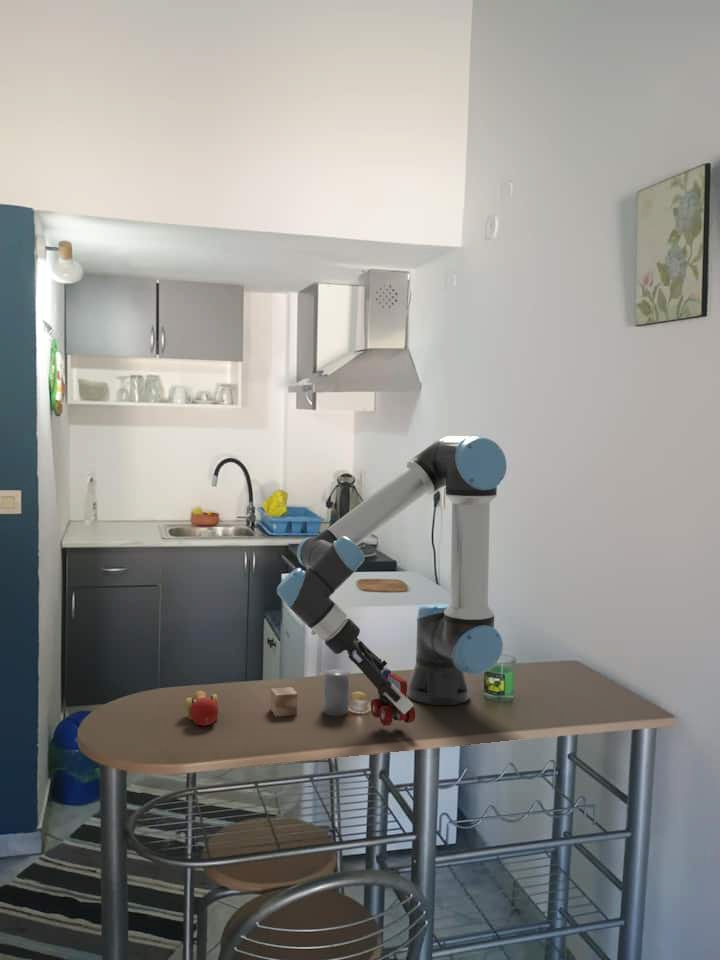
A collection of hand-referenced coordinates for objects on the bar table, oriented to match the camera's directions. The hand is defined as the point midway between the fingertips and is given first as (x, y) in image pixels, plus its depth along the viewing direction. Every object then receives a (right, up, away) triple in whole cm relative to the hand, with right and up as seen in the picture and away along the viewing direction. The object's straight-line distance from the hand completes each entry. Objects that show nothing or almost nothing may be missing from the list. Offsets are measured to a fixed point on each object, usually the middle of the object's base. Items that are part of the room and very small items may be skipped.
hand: (405, 700), depth 182 cm
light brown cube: (-27, -6, +10) cm, 30 cm away
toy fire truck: (-3, -4, 0) cm, 5 cm away
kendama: (-45, -5, +7) cm, 46 cm away
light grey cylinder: (-15, -6, +12) cm, 21 cm away
